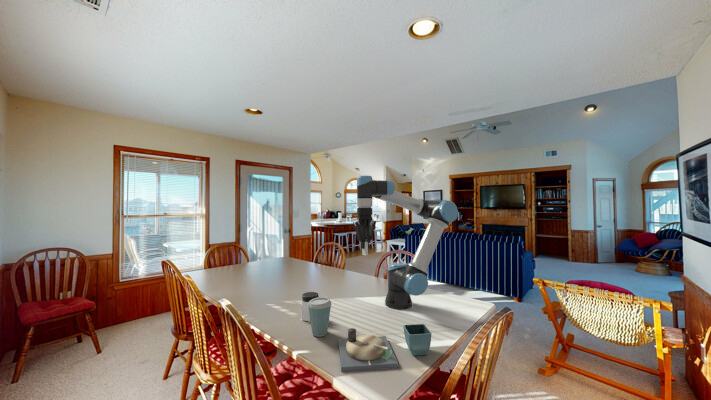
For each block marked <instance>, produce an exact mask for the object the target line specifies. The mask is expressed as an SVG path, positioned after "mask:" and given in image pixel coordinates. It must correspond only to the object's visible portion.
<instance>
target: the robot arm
mask: <svg viewBox="0 0 711 400" xmlns="http://www.w3.org/2000/svg"><path fill="white" fill-rule="evenodd" d="M395 186H396V185H395V183H394V182H393V181H392V180H375V179H373V177H372V176H371V175H359V176H357V179H356V197H357V198H356V206H357V209H356V214H357V218H356V220H355V221H353V222H352V224H353V226H354V230H355V234H356V239H357V241H358V242H359V243H360V248H361V255H362V256H369V247H370V242H371V241H372V240H373V238H374V237H373V236H374V232H375V231H374V230H375V225H376V224H377V221H376V220H374V219H373V217H372V215H373V198H375V199H377V200H378V199H379V200H380V201H381V200H382V201H383V202H387V203H389V204H392V205H394V206H398V207H400V208H403V209H406V210H408V211H411V212H413V214H414V215H417V216H418V217H422V218H424V219H426V220H427V221H428V224H427V226H426V229H425V231H424V233H423V235H422V238H421V239H420V242H419V245H418V246H417V249H416V250H415V253H414V255H413V257H412V260H411V262H408V263H391V264H389V265H388V267H387V293H386V296H385V301H384V305H385V306H386V307H388V308H390V309H395V310H406V309H409V308H412V306H413V301H412V297H411V296H420V295H423V294H424V293H425V292H426V291H427V289H428V286H429V282H428V278H427V276H428V274H429V272H428V267H429V265H430V263H431V260H432V258H433V255H434V253H435V251H436V248H437V246H438V243H439V241H440V239H441V238H442V235H443V232H444V230H445V229H448V227H449V226H450V224H451V223H453V222H455V221H456V220H457V218H458V215H459V210H458V207H457V205H456V204H455V202H453V201H452V200H447V199H443V200H428V199H427V200H426V199H423V198H415V197H412V196H409V195H407V194H404V193H402V192H400V191H396V190H395Z"/></svg>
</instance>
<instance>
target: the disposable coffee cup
mask: <svg viewBox="0 0 711 400" xmlns="http://www.w3.org/2000/svg"><path fill="white" fill-rule="evenodd" d="M331 307H332V301H331V298H329V296H319V297H318V298H314V299H312V300H310V301H309V302H308V308H309V314H310V321H311V322H310V327H311V332H312V335H313V336H314V337H318V338H319V337H325V336H327V335H328V331H329V322H330V315H331Z"/></svg>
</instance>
